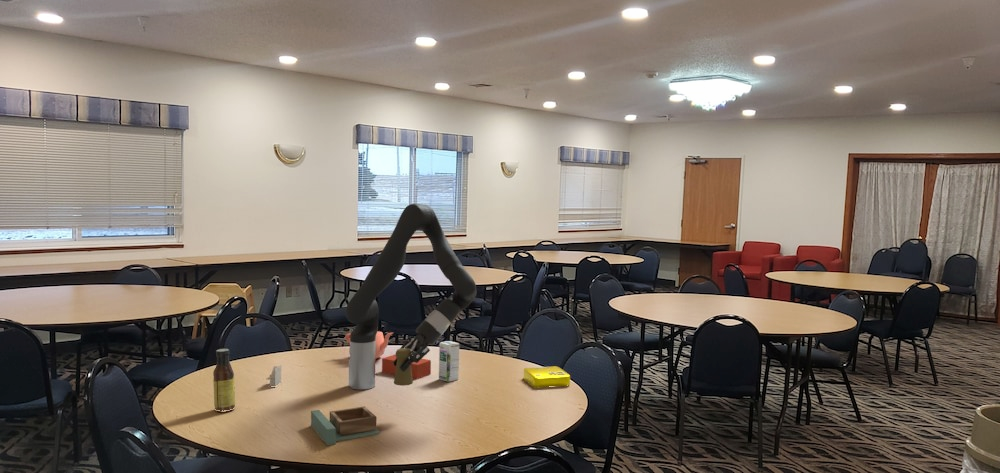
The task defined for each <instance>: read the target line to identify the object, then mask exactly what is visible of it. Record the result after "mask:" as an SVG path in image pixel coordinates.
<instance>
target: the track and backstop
mask: <svg viewBox="0 0 1000 473" xmlns="http://www.w3.org/2000/svg"><path fill="white" fill-rule="evenodd" d="M310 414H311V415H310V418H311V420H310V426H311V428H312V429H313V430H314V431H315V432H316V433H317V435H318V436H319V437H320V439H321V440H322V441H323V443H325V445H326V446H331V445H332V446H333V445H336V442H340V441H346V440H351V439H357V438H364V437H368V436H374V435H380V434H381V432H380V430H379V429H378V428H376V430H370V431H364V432H358V433H352V434H346V435H341V436H340V435H339V434H338V433H337V432H336V428H335V427H334V426H333V425H332V424H331V422H330V419H328V418H327V417H326V415H324V413H323V412H322V411H321V410H320V409H315V410H311V411H310Z"/></svg>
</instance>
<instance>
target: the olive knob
mask: <svg viewBox="0 0 1000 473" xmlns="http://www.w3.org/2000/svg"><path fill="white" fill-rule="evenodd" d="M400 348H401V347H400ZM400 348H398V349H396V351H395V355H396V358H397V365H396V371H395V375H394V380H393V384H394V385H396V386H403V387H404V386H410V385H412V384H413V383H414V379H413V378H412V371H411V365H410V366H409V367H408V368H407V369H406V370H405V371H404V372H403V371H402V370H401V369H400V368H399V366H400V365H401V364H402V363H403V362H404V361H405V359H406V358H407V357H408V356H409V354H410V349H407V348H405V347H404V348H401V349H400ZM407 359H408V358H407Z"/></svg>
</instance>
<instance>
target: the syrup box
mask: <svg viewBox="0 0 1000 473" xmlns="http://www.w3.org/2000/svg"><path fill="white" fill-rule="evenodd" d="M438 352H439V355H438V380H441V381H445V382H447V383H450V382H454V381H457V380H459V373H460V371H459V370H460V367H459V366H460V343H459V342H455V341H452V340H445V341H441V342H439V351H438Z"/></svg>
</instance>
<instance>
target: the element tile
mask: <svg viewBox="0 0 1000 473" xmlns="http://www.w3.org/2000/svg"><path fill="white" fill-rule="evenodd" d="M522 375H523V376H522V377H523V380H524V381H525V382H526V383H527V382H528V384H529V385H530V386H531V387H532V388H534V387H536V388H535V389H538V388H537V387H549V386H565V387H568V386H567V385H570V386H571V375H570V374H569V373H567V372H566V371H565V370H564V369H562V368H561V367H559V366H555V365H554V366H541V367H540V366H539V367H536V366H535V367H525V368H524V369H523V374H522Z"/></svg>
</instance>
